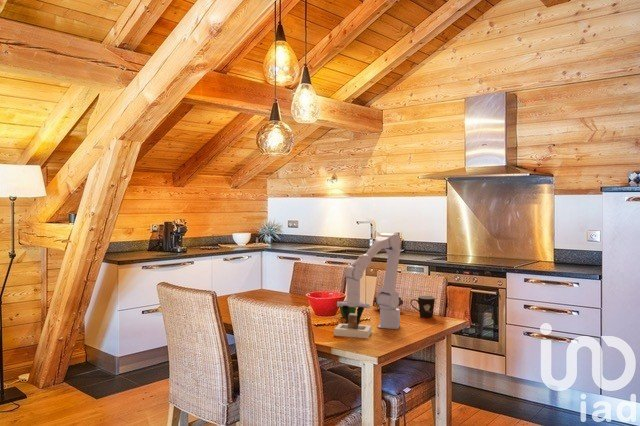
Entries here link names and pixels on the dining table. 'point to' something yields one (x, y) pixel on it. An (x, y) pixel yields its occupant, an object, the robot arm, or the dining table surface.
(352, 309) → the bell pepper
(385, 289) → the robot arm
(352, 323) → the bracket block
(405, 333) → the dining table surface
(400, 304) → the pine cone
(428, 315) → the coffee mug
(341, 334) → the well trough
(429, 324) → the dining table surface
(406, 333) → the dining table surface
